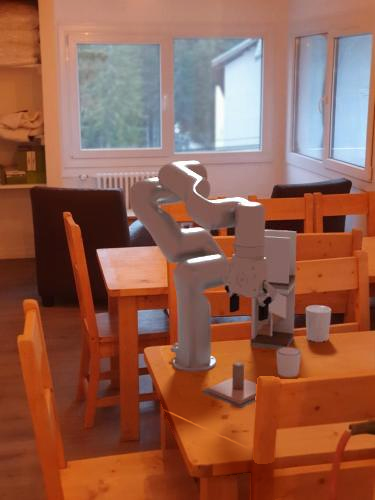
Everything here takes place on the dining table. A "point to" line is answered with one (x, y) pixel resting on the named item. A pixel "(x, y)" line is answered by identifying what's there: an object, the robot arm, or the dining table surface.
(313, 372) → the dining table surface
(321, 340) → the white cup
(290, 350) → the shot glass
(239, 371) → the lid
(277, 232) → the white coffee machine
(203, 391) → the mat
